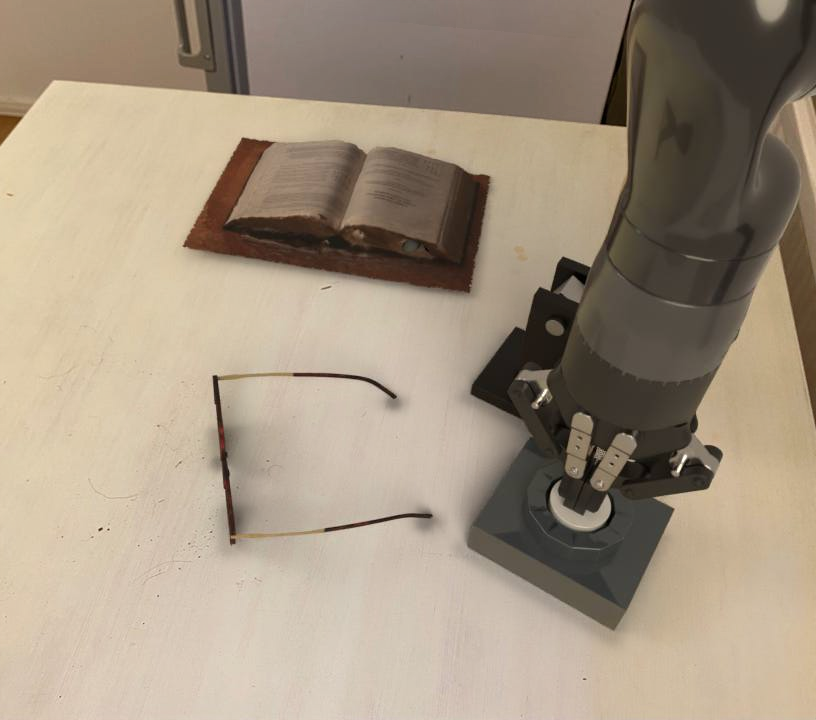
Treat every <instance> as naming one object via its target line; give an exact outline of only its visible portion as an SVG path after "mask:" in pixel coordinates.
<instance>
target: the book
mask: <svg viewBox="0 0 816 720" xmlns="http://www.w3.org/2000/svg"><path fill="white" fill-rule="evenodd" d="M491 178H492V176H491V175H488V174H484V173H483V174H482V173H480V174H474V173H470V172H468V171H467V170H465V169H464V168H462V167H461V166H460V165H458V164H456V163H453V162H449V161H444V160H441V159H438V158H433V157H430V156H427V155H423V154H422V153H421V154H420V153H417V152H412V151H409V150H405V149H402V148H398V147H394V146H386V147H384V146H375V147H373V148H371V149H370V150H369V151H368V153H366V152H365V151H364V150H363V149H361V148H359V146H358V145H357V144H355V143H353V142H346V141H344V140H340V139H329V140H327V139H326V140H315V141H302V142H299V141H298V142H296V141H295V142H294V141H293V142H283V141H281V142H279V141H270V140H267V139H265V140H264V139H262V140H260V139H256V138H249V137H244V136H243V137H241V139H240V141H239V143H238V144H237V145H236V148H235V150H234V151H233V153H232V156H230V158H229V161H228V162H227V164H226V166H225V167H224V169H223V171H222V174H221V175H220V177H219V179H218V180H217V181H216V184H215V186H214V187H213V189H212V190H211V193H210V194H209V196H208V198H207V199H206V201H205V203H204V205H203V207H202V210H201V211H200V213H199V215H198V216H197V219H196V220H195V222H194V224H193V227H192V228H191V229H190V231H189V233H188V234H187V236H186V239H184V242H183V244H182V245H181V246H182V247H183V248H184V249H185V248H188V249H190V250H197V251H203V252H205V251H206V252H207V251H208V252H209V253H213V254H214V253H215V254H222V255H229V256H238V257H244V258H246V259H256V260H262V261H267V262H272V263H273V262H274V263H276V264H278V263H282V264H287V265H291V266H296V267H301V268H308V269H315V270H319V271H321V270H324V271H326V272H333V273H339V274H340V273H341V274H345V275H350V276H351V275H354V276H359V277H363V278H364V277H366V278H368V279H373V280H383V281H391V282H395V283H405V284H409V285H411V286H416V287H425V288H436V289H439V288H441V289H442V290H447V291H458V292H466V293H468V294H470V293H471V291H472V290H471V289H472V287H471V285H473V283H472V281H473V280H474V278H473V275H474V269H475V268H476V266H475V265H476V260H477V257H476V256H477V254H478V251H479V245H480V238H481V237H482V230H483V229H482V227H483V224H484V218H485V211H486V204H487V200H488V191H489V188H490V183H491V181H490V179H491ZM406 241H414V242H418V243H420V245H419V246H418V248H417V249H416V250H415V251H414V252H411V251H408V250H403V249H402V247H403V244H404V243H405V242H406ZM426 248H427V250H426Z"/></svg>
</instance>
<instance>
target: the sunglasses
mask: <svg viewBox="0 0 816 720" xmlns="http://www.w3.org/2000/svg"><path fill="white" fill-rule="evenodd" d="M257 377H258V378H261V377H294V378H297V377H298V378H330V379H331V378H332V379H347V380H357V381H361V382H366V383H368V384H371V385H373V386H374V387H376V388H377V389H379V390H380V391H382V392H383V393H385V394H386V395H388V396H389V397H390V398H391V399H393V400H395V399H397V397H398V396H397V395H396V394H395V393H394V392H393V391H391V390H389V389H388V388H387V387H385V386H384V385H382V384H381V383H380V382H378V381H376V380H374V379H373V378H370V377H366V376H362V375H355V374H347V373H346V374H345V373H336V372H335V373H332V372H262V373H261V372H260V373H241V374H237V373H235V374H227V375H219V376H218V375H217V374H213V375H212V388H213V402H214V405H215V413H216V415H215V416H216V427H217V435H218V436H217V437H218V446H219V459H220V462H221V473H222V486H223V487H222V488H223V490H224V496H225V506H226V507H225V509H226V516H227V527H228V536H229V545H230V547H233V545H236V543H237V542H236V541H237V540H236V539H238V540H239V539H260V538H274V537H275V538H276V537H277V538H278V537H291V536H303V535H313V534H321V533H329V532H330V533H331V532H337V531H343V530H349V529H356V528H360V527H361V528H362V527H365V526H370V525H377V524H380V523H385V522H390V521H396V520H400V519H409V518H410V519H411V518H413V519H415V518H416V519H427V520H428V519H429V520H430V519H432V518H433V517H434V515H433V514H432V513H418V512H409V513H399V514H395V515H391V516H386V517H380V518H375V519H372V520H371V519H370V520H365V521H360V522H354V523H350V524H349V523H348V524H342V525H337V526H329V527H324V528H319V529H313V530H306V531H293V532H282V533H281V532H280V533H279V532H278V533H259V532H257V533H255V532H253V533H243V534H242V533H241V534H240V533H239V534H237V532H236V524H235V515H234V514H235V513H234V505H233V496H232V495H233V494H232V487H231V482H230V481H231V480H230V477H231V474H230V469H229V465H228V457H229V456H228V451H227V450H226V441H225V431H224V421H223V412H222V403H221V394H220V386H219V381H220V382H221V381H230V380H231V381H232V380H238V379H245V378H257Z"/></svg>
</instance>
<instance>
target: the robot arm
mask: <svg viewBox="0 0 816 720" xmlns="http://www.w3.org/2000/svg"><path fill="white" fill-rule="evenodd" d="M627 27H628V28H627V34H626V35H627V36H626V127H625V129H626V164H627V165H626V173H625V176H624V178H623V181H622V184H621V187H620V189H619V193H618V195H617V199H616V202H615V205H614V208H613V212H612V215H611V218H610V221H609V224H608V228H607V231H606V234H605V237H604V239H603V242H602V244H601V246H600V247H599V250H598V251H597V252H596V255H595V256H594V259H593V262H592V264H591V266H590V267H591V268H590V271H589V274H588V277H587V280H586V283H585V286H584V290H583V293H582V296H581V299H580V303H579V306H578V309H577V312H576V316H575V319H574V322H573V325H572V329H571V332H570V335H569V338H568V342H567V345H566V348H565V351H564V355H563V357H562V358H560V359H559V360H558V361H557V362H556V363H555V366H554V369H551V370H542V368H541V367H540V366H539V365H538V364H536V363H533V362H528V363H526V364H525V366H524V367H523V368H522V370H521V371H520V373H519V374H518V376H517V377H516V378H515V380H514V381H513V383H512V384H511V386H510V387H509V388H508V395H509V396H510V398H511V400H512V402H513V403H514V405H515V407H516V409H517V410H518V412H519V414H520V416H521V418H522V419H523V420H522V419H521V420H522V422H523V423H524V425H525V427H526V428H527V430H528V432H529V433H530V435H531V437H532V438H533V439H534V440H535V442H536V444H537V446H538V447H539V449H540V451H541V453H542V454H543V455H544V456H545V457H547V458H549V459H557V458H558V459H559V460H560V461H562V463H563V464H564V466H565V471H564V474H563V477H562V480H561V482H560V485H559V488H558V493H559V496H561V497H563V498H565V501H564V503H563V506H565V507H567V508H569V509H570V510H572V511H574V512H576V513H578V514H580V515H582V516H583V515H584V514H585V512H586V510H588V511H590V512H592V513H595V512H597V511H598V510H599V508H600V506H601V505H602V503H603V501H604V499H605V497H606V495H607V493H608V491H609V489H612V488H614V489H619V490H620V492H621V494H622V495H623V496H624V497H626V498H627V499H630V500H639V499H646V498H658V497H665V496H673V495H680V494H685V493H692V492H693V493H694V492H699V491H705V490H708V489H709V488H710V486H711V484H712V483H713V480H714V478H715V476H716V474H717V473H718V470H719V467H720V465H721V462H722V460H723V457H724V453H723V451H722V449H720V448H719V447H718V446H715V445H713V444H703V443H702V442H701V441H700V439H699V438H698V436H697V435H696V434H695V433H696V432H697V430H698V428H699V420H698V419H699V418H698V415H697V410H698V408H699V406H700V405H701V403H702V401H703V399H704V397H705V395H706V393H707V392H708V390H709V388H710V386H711V385H712V382H713V380H714V379H715V377H716V375H717V373H718V371H719V369H720V368H721V365H722V363H723V361H724V360H725V358H726V356H727V354H728V352H729V350H730V348H731V347H732V345H733V344H734V343H735V342H736V341H737V339H738V337H739V335H740V331H741V328H742V326H743V323H744V322H745V319H746V317H747V314H748V311H749V308H750V306H751V302H752V299H753V295H754V292H755V290H756V287H757V285H758V283H759V281H760V279H761V277H762V275H763V274H764V272H765V270H766V268H767V266H768V264H769V262H770V260H771V258H772V257H773V255H774V253H775V251H776V249H777V247H778V245H779V243H780V241H781V239H782V238H783V236H784V234H785V231H786V230H787V227H788V225H789V223H790V221H791V219H792V217H793V215H794V212H795V210H796V207H797V205H798V202H799V198H800V193H801V189H802V183H803V181H802V180H803V179H802V171H801V165H800V163H799V161H798V159H797V157H796V155H795V153H794V152H793V150H792V149H791V148H790V147H789V145H787V143H786V142H785V141H783V140H782V139H781V138H780V137H779V136H777V135H775V134H774V133H773V132H771V131H770V129H771V128H772V126H773V123H774V122H775V120H776V119H777V117H778V116H779V115H780V113H781V111H782V110H783V109H784V108H785V106H786V105H790V104H793V103H797V102H799V101H802V100H805V99H808V98H811V97H813V96H816V0H634V2H633V5H632V9H631V11H630V16H629V21H628V26H627ZM549 423H550V425H551V427H552V430H550V428H549ZM599 449H601V450H603V452H605V453H604V455H603V456H602V457H601V458H600V459H599V458H597V457H595V456H596V454H597V452H598V451H599ZM629 460H630V461H629ZM594 465H595V466H594ZM574 507H575V508H574ZM573 509H574V510H573Z"/></svg>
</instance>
